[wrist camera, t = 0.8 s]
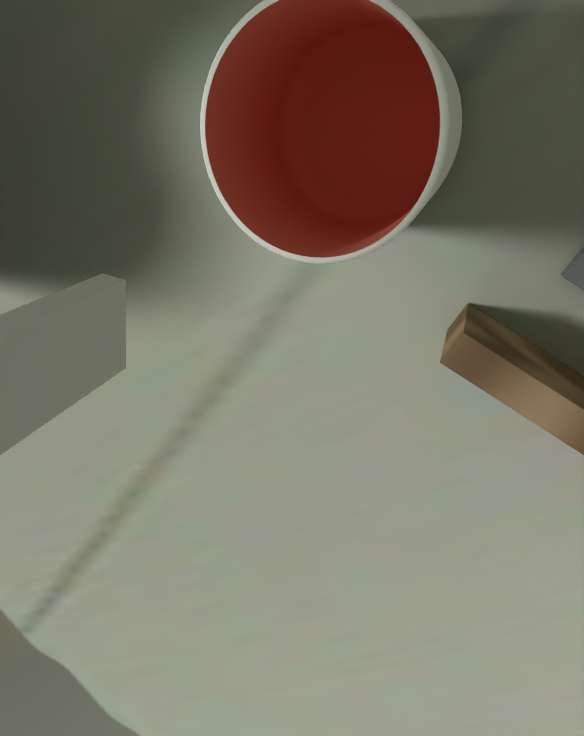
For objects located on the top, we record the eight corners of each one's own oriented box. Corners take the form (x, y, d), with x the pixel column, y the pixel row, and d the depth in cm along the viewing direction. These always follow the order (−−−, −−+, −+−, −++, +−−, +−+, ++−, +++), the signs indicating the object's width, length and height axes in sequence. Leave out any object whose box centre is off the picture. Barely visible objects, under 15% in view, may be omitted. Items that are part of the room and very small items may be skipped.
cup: (444, -11, 26) (418, -75, 17) (478, 199, 29) (470, 235, 20) (260, 63, 30) (164, 41, 21) (307, 241, 33) (241, 284, 24)
